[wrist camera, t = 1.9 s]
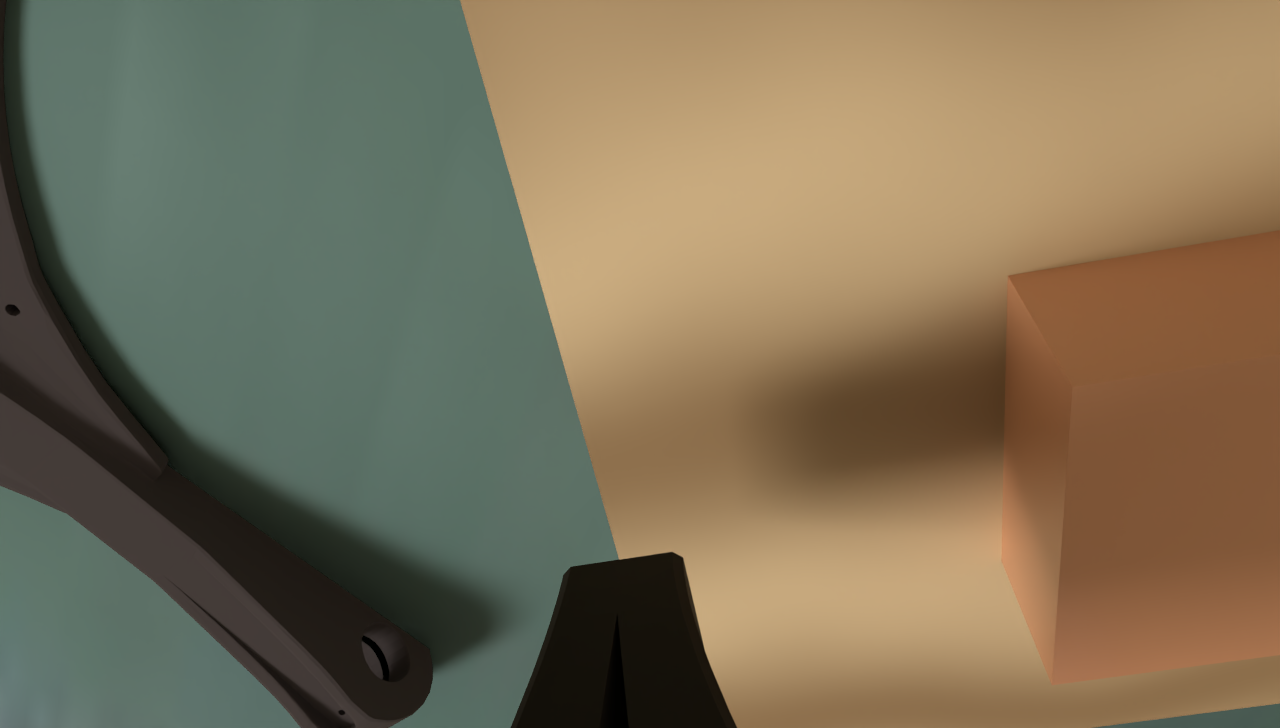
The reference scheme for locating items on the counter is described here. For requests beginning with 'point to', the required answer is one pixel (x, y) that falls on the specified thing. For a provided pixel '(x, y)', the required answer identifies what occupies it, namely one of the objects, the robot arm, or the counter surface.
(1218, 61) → the large beige panel
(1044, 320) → the tile
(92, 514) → the bracket
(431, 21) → the counter surface
